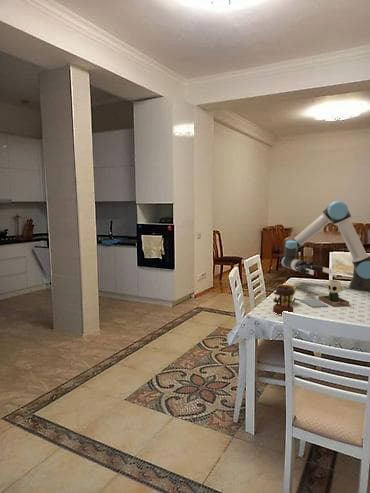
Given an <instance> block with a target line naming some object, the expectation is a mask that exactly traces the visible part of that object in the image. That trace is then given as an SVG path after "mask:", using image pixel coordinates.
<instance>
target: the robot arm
mask: <svg viewBox="0 0 370 493" xmlns="http://www.w3.org/2000/svg"><path fill="white" fill-rule="evenodd" d="M351 219H352V215H351V213H350V210H349V208H348V205H347V203H345V202H344V201H341V200H335V201H332V202H330V203H329V204H328V206H326V208H325V209H324V210H322V211H321V215H319V216H318V217H317V218H316V219H315V220H313V221H312V222H311V223H310V224H309V225H308V226H306V227H305V228H304V229H303V230H302V231H301V232H300V233H298V234H297V235H296V236H295V237H294V238H293V239H290V240H286V241H285V248H284V250H285V251H284V252H285V254H284V257H283V258H282V260H281V265H282V267H284V268H286V269H290V270H293V271H295V272H299V273H302V274H304V275H305V274H308V275H311V276H314V273H315V271H319V272H322V273H326V274H329V275H331V274H332V268H331V269H330V268H328V267H327V266H325V265H324V266H321V265H315V264H308V262H306V261H304V260H302V259H301V260H300V259H297V251H298V249H299V248H301V247H302V246H303V245H304V244H305V243H307V242H308V241H309V240H311V238H312V237H314V236H315V235H316V234H317V233H319V232H320V231H321V230H323V229H324V227H326V226H327V225H328V224H329V223H333V225H334V226H337V228H338V231H339V233H340V234H341V237H342V239H343V241H344V242H345V245H346V247H347V249H348V251H349V253H350V255H351V257H352V260H351V263H352V266H353V272H352V278H351V280H350V282H349V288H350V289H352V290H355V289H356V290H355V291H361V290H370V253H367V252H366V250H365V247H364V246H363V243H362V241H361V239H360V237H359V235H358V233H357V231H356V229H355V227H354V224H353V222H352V220H351Z"/></svg>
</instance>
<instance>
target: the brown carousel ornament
mask: <svg viewBox="0 0 370 493" xmlns="http://www.w3.org/2000/svg"><path fill="white" fill-rule="evenodd" d="M284 285H287V286H288V287H292V288H293V289H294V294H293V295H292V296H290V301H293V300H294V296H295V294H296V290H297V288H296V286H295V285H291V284H285V283H284V284H280V286H284ZM278 286H279V284H278V285H277V287H278ZM278 297H279V298H280V295H278ZM286 298H287V300H288V296H287V297H286ZM282 299H284V296H282ZM281 301H282V303H281V304H288V301H287V302H285V303H283V300H281ZM291 304H293V303H292V302H291V303H290V305H291Z"/></svg>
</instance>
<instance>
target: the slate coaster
mask: <svg viewBox="0 0 370 493" xmlns="http://www.w3.org/2000/svg"><path fill="white" fill-rule="evenodd" d="M299 301H300V302H301V303H303V304H305V305H307V306H309V307H310V308H325V307H326V308H327V307H329V305H328V304H326V303H324V302H322V301H320V300H317V299H316V298H306V299H304V298H303V299H300V300H299Z"/></svg>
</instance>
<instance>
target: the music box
mask: <svg viewBox="0 0 370 493" xmlns="http://www.w3.org/2000/svg"><path fill="white" fill-rule="evenodd" d="M273 281H275V285H277V283H278V285H279V286H278V285H277V286H276V288H275V291H274V292H273V294H274V295H275V297H274V299H273V303H275V304H274V305H273V308H272V312H275V313H277V314H281V315H282V312H283V311H288V312H293V313H294V307H293V305H291V304H294V303H295V301H300V300H301V299H299V298H295V297H293V299H292V301H290V296H292V295H293V294H294V295H295V293H294V289H293V288H292V287H288V286H287V285H288V284H287V277H285V276H284V277H278V278H276V279H273ZM282 283H284V284H285V285H284V286H280V285H281V284H282ZM279 295H280V298H279ZM277 296H278V297H277ZM282 296H284V299H282ZM287 296H288V300H287V298H286V297H287ZM281 300H283V303H285V302H287V301H288V304H283V303H282V301H281ZM291 302H292V303H291ZM290 303H291V304H290ZM275 313H274V314H275ZM277 314H276V315H277ZM281 315H280V316H281Z"/></svg>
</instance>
